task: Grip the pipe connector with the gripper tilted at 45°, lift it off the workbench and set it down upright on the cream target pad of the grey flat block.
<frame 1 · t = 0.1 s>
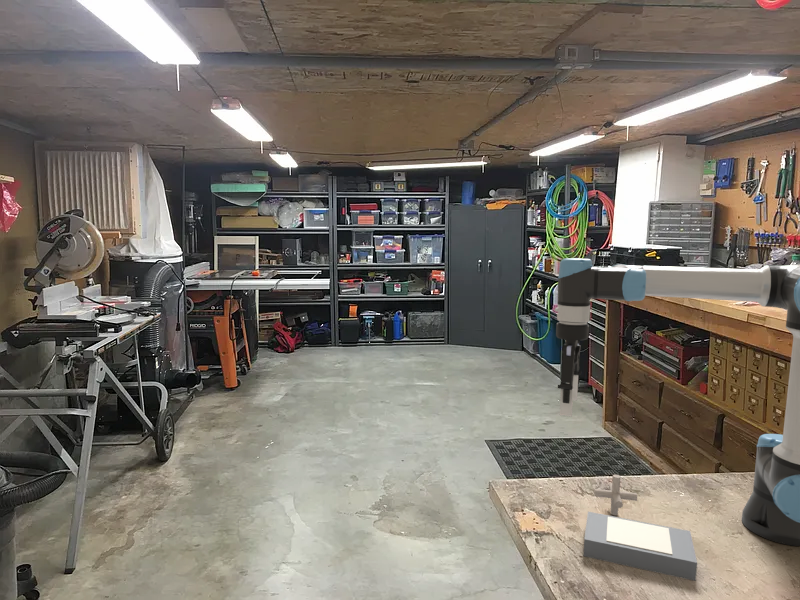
hand: (568, 407, 136), 28 cm above the table, tool pointing down, fingers open, 13 cm apart
pipe connector: (614, 514, 140), on the table
grey flat block: (636, 551, 124), on the table
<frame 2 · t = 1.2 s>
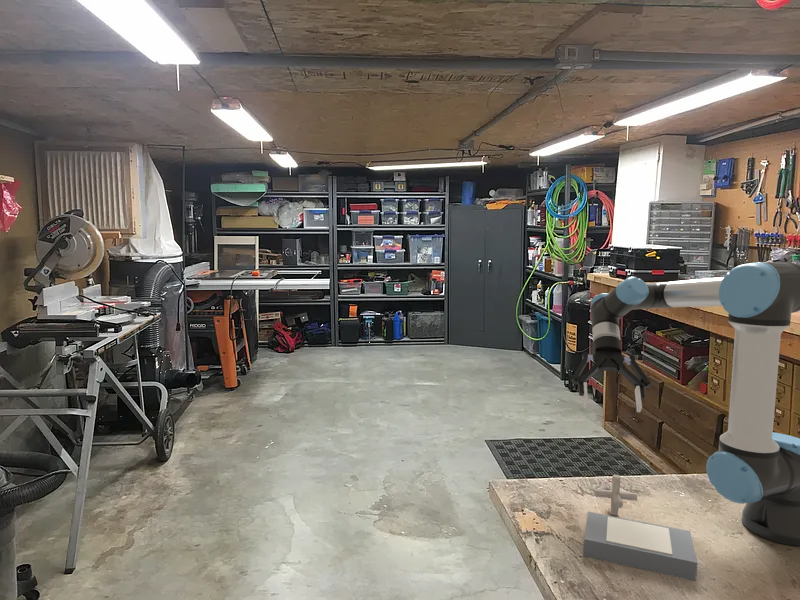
hand: (612, 408, 147), 24 cm above the table, tool tilted 45°, fingers open, 13 cm apart
nothing on the table moved.
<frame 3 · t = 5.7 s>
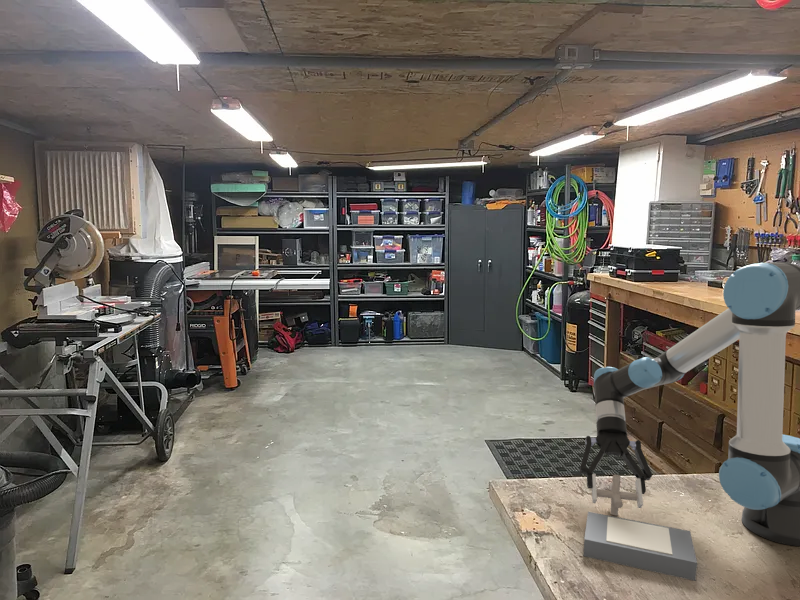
hand: (617, 503, 137), 4 cm above the table, tool tilted 45°, fingers closed on pipe connector, 10 cm apart
pipe connector: (614, 514, 140), on the table, touching gripper
when the fingers open (10 cm above the table, at t = 11.2 s): pipe connector drops 1 cm, resting on grey flat block.
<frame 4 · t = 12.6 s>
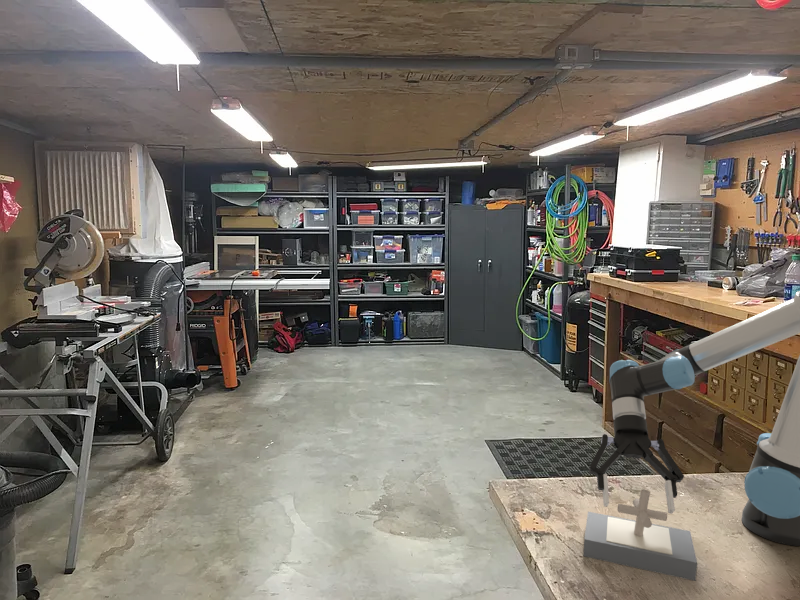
hand: (638, 508, 122), 10 cm above the table, tool tilted 45°, fingers open, 13 cm apart
pipe connector: (638, 534, 123), point 4 cm above the table, touching grey flat block
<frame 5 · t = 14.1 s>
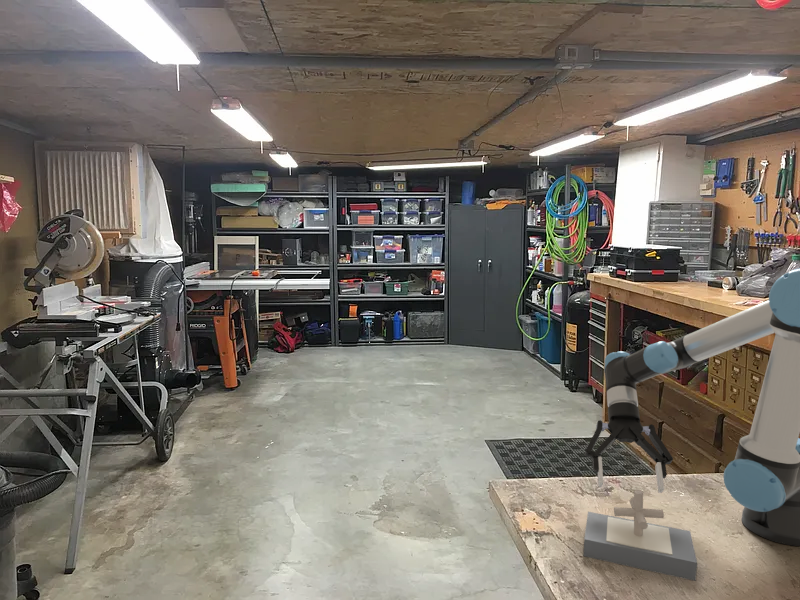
hand: (630, 488, 132), 10 cm above the table, tool tilted 45°, fingers open, 13 cm apart
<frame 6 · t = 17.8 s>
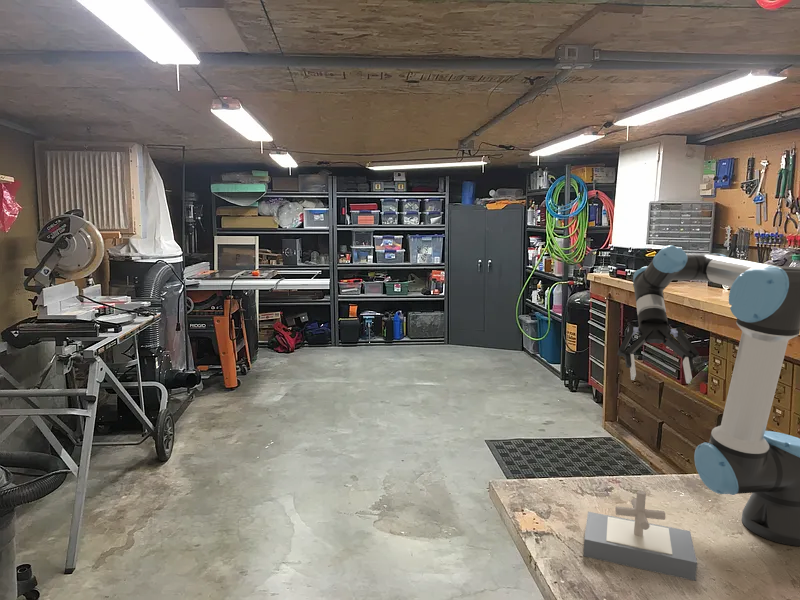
hand: (661, 379, 145), 33 cm above the table, tool tilted 45°, fingers open, 13 cm apart
nothing on the table moved.
at the end: pipe connector inside the target area on the grey flat block (0.1 cm from its centre), point 4.0 cm above the grey flat block's base; pipe connector tilted 1°; pipe connector touching grey flat block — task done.
